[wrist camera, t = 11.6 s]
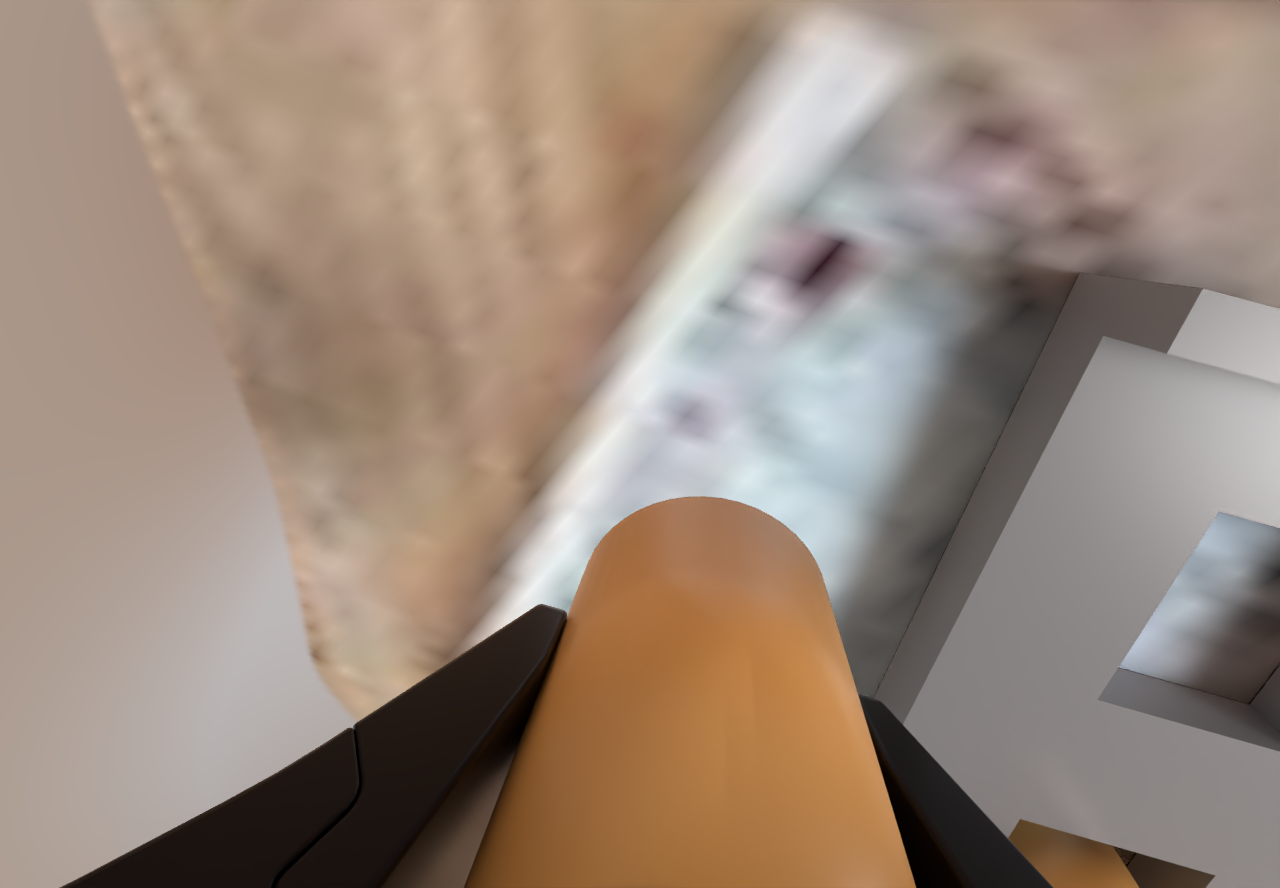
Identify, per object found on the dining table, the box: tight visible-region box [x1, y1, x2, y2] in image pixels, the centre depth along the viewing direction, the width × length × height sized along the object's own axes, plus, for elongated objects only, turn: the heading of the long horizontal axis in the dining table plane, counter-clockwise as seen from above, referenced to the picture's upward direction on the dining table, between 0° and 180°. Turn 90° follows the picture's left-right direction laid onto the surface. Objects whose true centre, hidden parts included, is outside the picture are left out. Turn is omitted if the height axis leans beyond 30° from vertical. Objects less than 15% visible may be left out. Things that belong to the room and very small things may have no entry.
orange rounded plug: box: [464, 497, 916, 888], centre depth 7 cm, size 4×4×6 cm
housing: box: [874, 273, 1280, 888], centre depth 17 cm, size 24×14×4 cm, turn 166°
